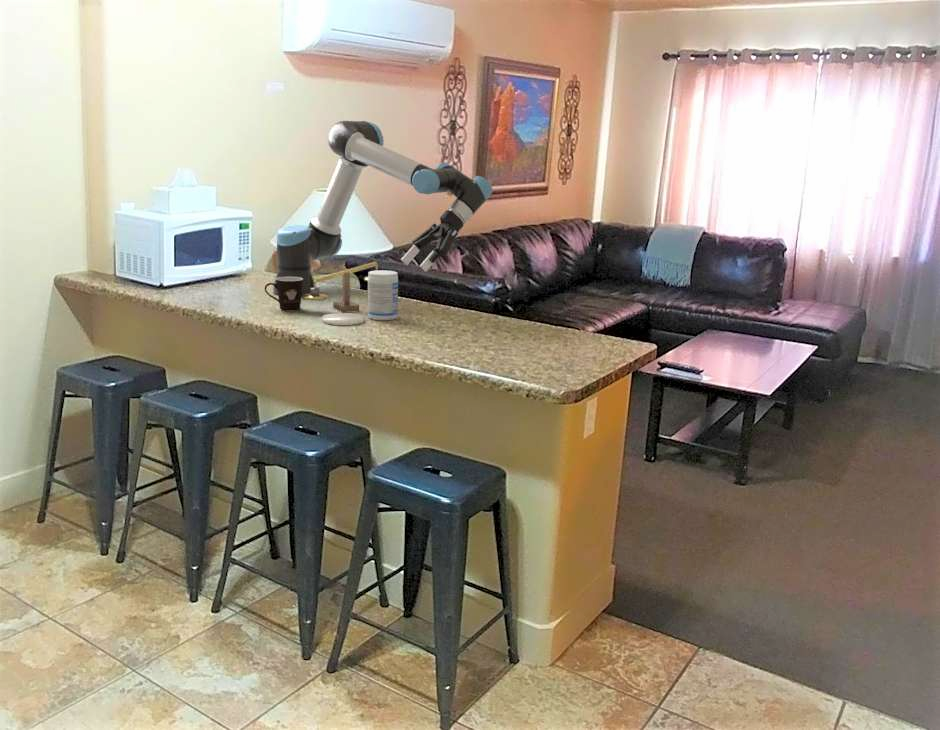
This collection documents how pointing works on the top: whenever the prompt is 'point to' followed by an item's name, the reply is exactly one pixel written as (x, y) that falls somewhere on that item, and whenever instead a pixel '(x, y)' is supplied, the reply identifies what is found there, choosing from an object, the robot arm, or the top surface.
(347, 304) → the balance
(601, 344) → the top surface
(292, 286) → the coffee mug
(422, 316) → the top surface
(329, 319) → the plate
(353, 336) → the top surface
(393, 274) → the supplement tub
